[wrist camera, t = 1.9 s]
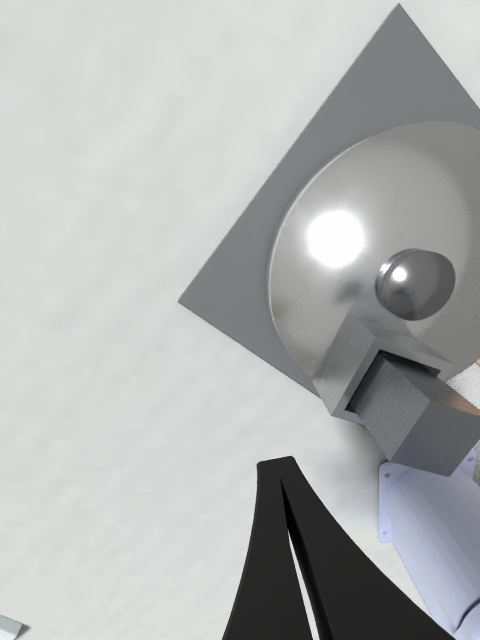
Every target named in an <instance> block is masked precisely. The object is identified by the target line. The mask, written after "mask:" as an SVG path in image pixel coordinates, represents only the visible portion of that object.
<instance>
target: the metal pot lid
mask: <svg viewBox="0 0 480 640" xmlns="http://www.w3.org/2000/svg"><path fill="white" fill-rule="evenodd" d="M264 282H265V296H266V301H267V306H268V311H269V314H270V317H271V319H272V322H273V325H274V327H275V329H276V331H277V333H278V335H279V337H280V339H281V341H282V343H283V345H284V346H285V348H286V350H287V352H288V353H289V355H290V356H291V357H292V359H293V360H294V361H295V363H296V364H297V365H298V366H299V367H300V368H301V369H302V370H303V371H304V372H305V373H306V374H307V375H309V376H310V377H311V378H313V380H312V382H313V384H314V386H315V388H316V390H317V391H318V393H319V395H320V397H321V399H322V400H323V402H324V404H325V406H326V408H327V409H328V411H329V413H330V415H331V416H334V417H338V418H341V419H345V420H348V421H352V422H355V423H359V424H363V422H362V421H361V419H360V418H359V417H358V415H357V414H356V412H355V411H354V409H353V408H352V406H351V405H350V403H349V401H350V399H351V397H352V396H353V394H354V392H355V390H356V389H357V387H358V385H359V384H360V382H361V380H362V378H363V377H364V375H365V373H366V372H367V370H368V368H369V366H370V365H371V363H372V361H373V360H374V358H375V356H376V354H377V353H378V351H379V349H381V350H384V351H387V352H390V353H393V354H396V355H399V356H402V357H404V358H407V359H410V360H413V361H416V362H419V363H420V364H421V365H423V366H424V367H425V368H427V369H428V370H429V371H430V372H432V373H433V374H434V375H435V376H437V377H438V378H439V379H441V380H442V381H443V382H445V381H447V380H449V379H451V378H452V377H454V376H456V375H457V374H459V373H461V372H462V371H464V370H465V369H466V368H468V367H469V366H471V365H472V364H473V363H475V362H476V361H477V360H478V359H479V358H480V130H479V129H477V128H475V127H471V126H467V125H463V124H459V123H455V122H441V121H430V122H419V123H412V124H408V125H403V126H399V127H395V128H392V129H389V130H387V131H384V132H382V133H379V134H377V135H374V136H372V137H369V138H367V139H364V140H362V141H360V142H357V143H355V144H353V145H351V146H349V147H347V148H346V149H344V150H342V151H340V152H338V153H337V154H335V155H334V156H333V157H331V158H330V159H328V160H327V161H326V162H324V163H323V164H322V165H320V166H319V167H318V168H317V169H316V170H315V171H314V172H313V173H312V174H311V175H310V176H309V177H308V178H307V179H306V180H305V181H304V182H303V183H302V185H301V186H300V187H299V188H298V190H297V191H296V192H295V193H294V195H293V196H292V198H291V199H290V201H289V202H288V204H287V205H286V207H285V209H284V210H283V212H282V214H281V216H280V218H279V220H278V222H277V225H276V227H275V229H274V232H273V235H272V238H271V241H270V244H269V248H268V253H267V258H266V263H265V277H264ZM363 425H364V424H363Z"/></svg>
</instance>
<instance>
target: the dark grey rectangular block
mask: <svg viewBox="0 0 480 640" xmlns="http://www.w3.org/2000/svg"><path fill="white" fill-rule="evenodd" d="M349 403H350V405H351V406H352V408H353V409H354V411H355V412H356V414H357V415H358V417H359V418H360V419H361V421H362V422H363V424H364V425H365V427H366V428H367V430H368V431H369V433H370V434H371V436H372V437H373V439H374V440H375V442H376V443H377V445H378V446H379V447H380V449H381V450H382V452H383V453H384V455H385V456H386V458H387V459H388V461H389V462H392V463H396V464H400V465H404V466H408V467H412V468H415V469H419V470H423V471H427V472H431V473H435V474H439V475H442V476H446V477H450V476H451V475H452V473H453V472H454V471H455V470H456V468H457V467H458V466H459V464H460V463H461V462H462V461H463V459H464V458H465V457H466V455H467V454H468V453H469V452H470V450H471V449H472V448H473V446H474V445H475V444H476V443H477V441H478V440H479V439H480V410H479V409H478V408H477V407H475V406H474V405H473V404H471V403H470V402H469V401H468V400H466V399H465V398H464V397H462V396H461V395H460V394H459V393H457V392H456V391H455V390H453V389H452V388H451V387H450V386H448V385H447V384H446V383H444V382H443V381H442V380H441V379H439V378H438V377H437V376H435V375H434V374H433V373H432V372H430V371H429V370H428V369H427V368H425V367H424V366H423V365H421V364H420V363H419V362H416V361H413V360H410V359H407V358H404V357H402V356H399V355H396V354H393V353H390V352H387V351H384V350H381V349H379V351H378V353H377V354H376V356H375V358H374V360H373V361H372V363H371V365H370V366H369V368H368V370H367V372H366V373H365V375H364V377H363V378H362V380H361V382H360V384H359V385H358V387H357V389H356V390H355V392H354V394H353V396H352V397H351V399H350V401H349Z"/></svg>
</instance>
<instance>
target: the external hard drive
mask: <svg viewBox="0 0 480 640" xmlns="http://www.w3.org/2000/svg"><path fill="white" fill-rule="evenodd" d="M21 626H22V624H21V623H19V622H16V621H14V620H12V619H9V618H7V617H4V616H2V615H0V640H14V639H15V638H16V637H17V635H18V632H19V630H20V628H21Z"/></svg>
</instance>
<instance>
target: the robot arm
mask: <svg viewBox="0 0 480 640" xmlns="http://www.w3.org/2000/svg"><path fill="white" fill-rule="evenodd" d="M476 456H477V451H476V450H475V449H474V448H472V449H471V450H470V452H469V453H468V454H467V455H466V457H465V458H464V459H463V461H462V462H461V463H460V464H459V466H458V467H457V468H456V470H455V471H454V472H453V473H452V475H451V476H450V477H446V476H442V475H439V474H435V473H431V472H427V471H423V470H419V469H415V468H412V467H408V466H404V465H400V464H396V463H392V462H386V463H383V464H381V466H380V468H379V533H378V537H379V540H380V542H381V543H389V542H392V543H393V545H394V547H395V549H396V551H397V553H398V555H399V556H400V558H401V560H402V562H403V564H404V566H405V568H406V570H407V572H408V574H409V575H410V577H411V579H412V581H413V583H414V585H415V587H416V589H417V591H418V592H419V594H420V596H421V598H422V600H423V602H424V604H425V606H426V608H427V610H428V611H429V613H430V615H431V617H432V618H433V619H432V618H431V617H429V616H428V615H427V614H426V613H425V612H424V611H423V610H422V609H420V608H419V607H418V606H417V605H416V604H415V603H414V602H413V601H412V600H411V599H410V598H408V597H407V596H406V595H405V594H404V593H403V592H402V591H401V590H400V589H399V588H398V587H397V586H396V585H395V584H394V583H393V582H392V581H391V580H390V579H389V578H388V577H387V576H385V575H384V574H383V573H382V572H381V570H380V569H379V568H378V567H377V566H376V565H375V564H374V563H373V562H372V561H371V560H370V559H369V558H368V557H367V556H366V555H365V554H364V553H363V551H362V550H361V549H360V548H359V547H358V546H357V545H356V544H355V543H354V541H353V540H352V539H351V538H350V537H349V536H348V535H347V533H346V532H345V531H344V530H343V529H342V527H341V526H340V525H339V524H338V522H337V521H336V520H335V519H334V517H333V516H332V515H331V514H330V512H329V511H328V510H327V508H326V507H325V506H324V504H323V503H322V502H321V500H320V499H319V497H318V496H317V495H316V493H315V492H314V490H313V489H312V487H311V486H310V484H309V483H308V481H307V480H306V478H305V477H304V475H303V473H302V472H301V470H300V468H299V466H298V464H297V463H296V461H295V458H294V457H292V456H287V457H282V458H277V459H272V460H266V461H261V462H259V463H258V464H257V495H256V504H255V512H254V520H253V526H252V531H251V536H250V542H249V547H248V552H247V556H246V560H245V565H244V569H243V573H242V577H241V580H240V584H239V588H238V591H237V594H236V598H235V601H234V605H233V608H232V611H231V615H230V618H229V621H228V624H227V627H226V630H225V632H224V635H223V638H222V640H313V638H312V634H311V630H310V626H309V622H308V618H307V614H306V610H305V606H304V602H303V598H302V593H301V589H300V585H299V581H298V577H297V573H296V569H295V564H294V560H293V556H292V552H291V548H290V542H289V535H288V531H289V534H290V538H291V541H292V544H293V547H294V551H295V554H296V557H297V560H298V564H299V567H300V570H301V573H302V577H303V580H304V583H305V586H306V590H307V593H308V596H309V599H310V603H311V606H312V610H313V614H314V617H315V622H316V626H317V630H318V634H319V639H320V640H480V487H479V486H478V485H477V484H476V482H475V481H474V480H473V475H474V469H475V462H476Z"/></svg>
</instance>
